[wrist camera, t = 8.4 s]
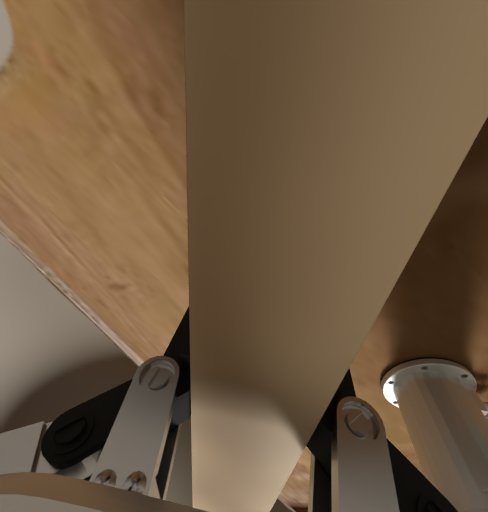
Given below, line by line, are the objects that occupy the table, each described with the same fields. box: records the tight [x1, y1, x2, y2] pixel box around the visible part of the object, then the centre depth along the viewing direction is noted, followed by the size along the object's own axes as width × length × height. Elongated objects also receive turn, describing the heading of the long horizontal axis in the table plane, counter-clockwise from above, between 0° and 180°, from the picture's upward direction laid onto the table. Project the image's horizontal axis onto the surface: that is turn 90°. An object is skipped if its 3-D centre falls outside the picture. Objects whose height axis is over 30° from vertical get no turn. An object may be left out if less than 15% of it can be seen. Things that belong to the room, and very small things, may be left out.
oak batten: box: [184, 0, 488, 512], centre depth 9 cm, size 4×24×5 cm, turn 174°
